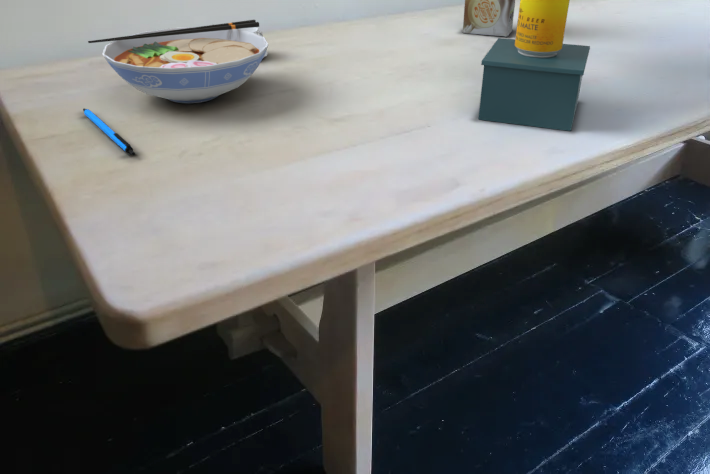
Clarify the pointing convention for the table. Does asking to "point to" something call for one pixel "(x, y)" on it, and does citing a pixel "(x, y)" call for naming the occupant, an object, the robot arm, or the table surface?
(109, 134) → the pen
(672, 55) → the table surface
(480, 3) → the coffee box
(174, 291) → the table surface
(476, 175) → the table surface
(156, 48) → the ramen bowl
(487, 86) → the teal box
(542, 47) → the beer can
